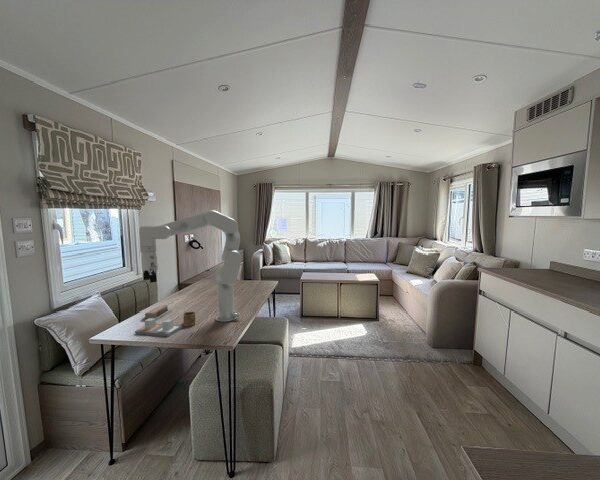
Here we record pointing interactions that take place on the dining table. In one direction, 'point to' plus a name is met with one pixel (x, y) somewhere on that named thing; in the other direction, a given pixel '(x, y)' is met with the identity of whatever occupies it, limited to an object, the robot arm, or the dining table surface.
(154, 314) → the packaged product
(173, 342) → the dining table surface
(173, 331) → the pin board
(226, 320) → the robot arm
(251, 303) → the dining table surface
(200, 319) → the dining table surface
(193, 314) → the sleeve
